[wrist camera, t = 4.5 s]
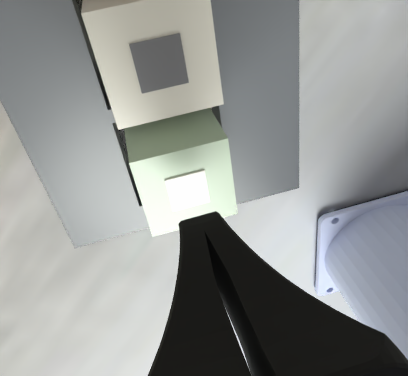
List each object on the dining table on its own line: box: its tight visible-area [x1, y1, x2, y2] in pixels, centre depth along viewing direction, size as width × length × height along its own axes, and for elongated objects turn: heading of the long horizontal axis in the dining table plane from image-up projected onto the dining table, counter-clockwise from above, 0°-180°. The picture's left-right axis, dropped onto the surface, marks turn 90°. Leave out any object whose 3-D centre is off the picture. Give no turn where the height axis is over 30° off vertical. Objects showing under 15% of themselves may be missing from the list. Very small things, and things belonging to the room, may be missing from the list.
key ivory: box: [81, 0, 224, 130], centre depth 14 cm, size 4×4×3 cm
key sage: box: [124, 108, 238, 237], centre depth 17 cm, size 4×4×3 cm
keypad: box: [0, 0, 299, 248], centre depth 15 cm, size 12×18×2 cm, turn 10°
